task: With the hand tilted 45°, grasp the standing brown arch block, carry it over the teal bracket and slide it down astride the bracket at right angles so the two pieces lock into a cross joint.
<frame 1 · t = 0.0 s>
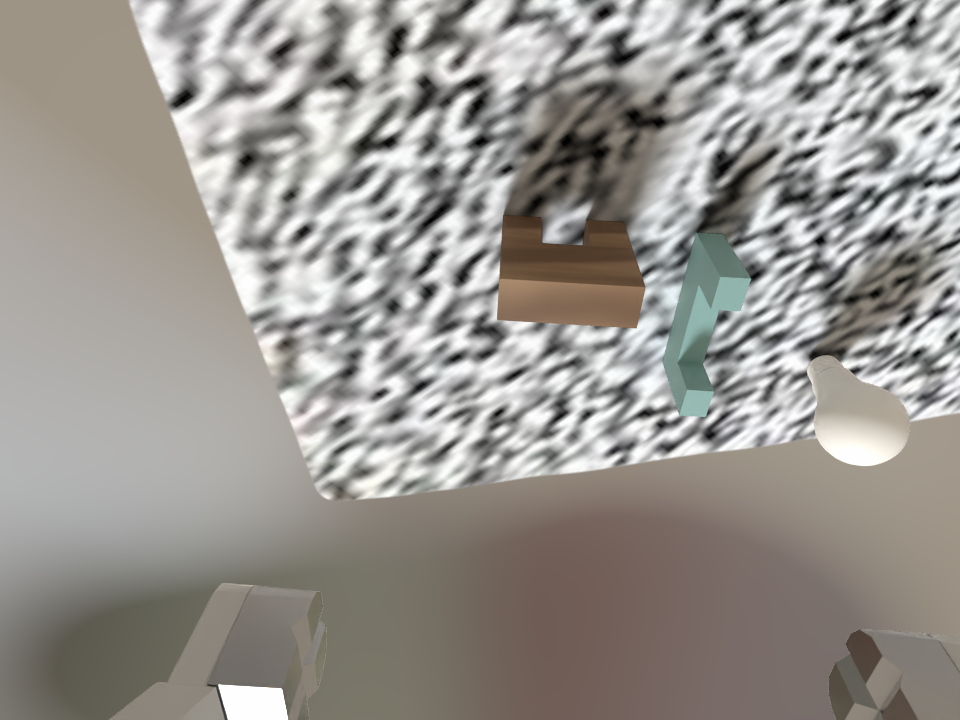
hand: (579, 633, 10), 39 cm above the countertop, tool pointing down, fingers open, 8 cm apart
lightbulb: (817, 360, 53), on the countertop
teal bracket: (690, 302, 50), on the countertop
brown arch block: (561, 237, 47), on the countertop
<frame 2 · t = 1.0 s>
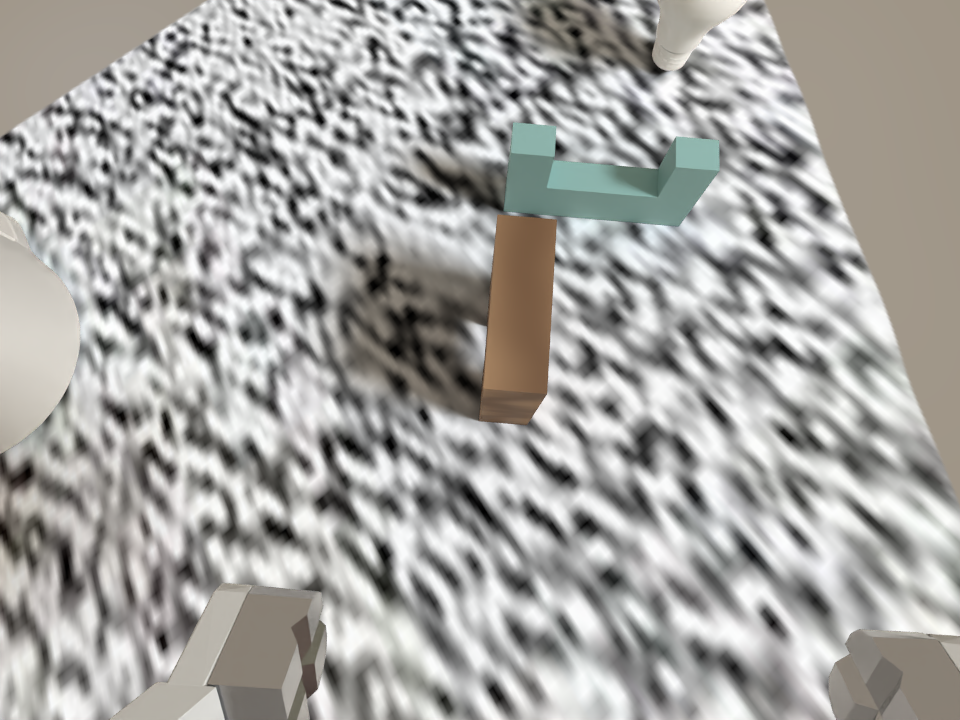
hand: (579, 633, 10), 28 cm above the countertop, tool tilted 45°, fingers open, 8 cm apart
lightbulb: (664, 65, 46), on the countertop
teal bracket: (591, 205, 43), on the countertop
brown arch block: (507, 353, 40), on the countertop
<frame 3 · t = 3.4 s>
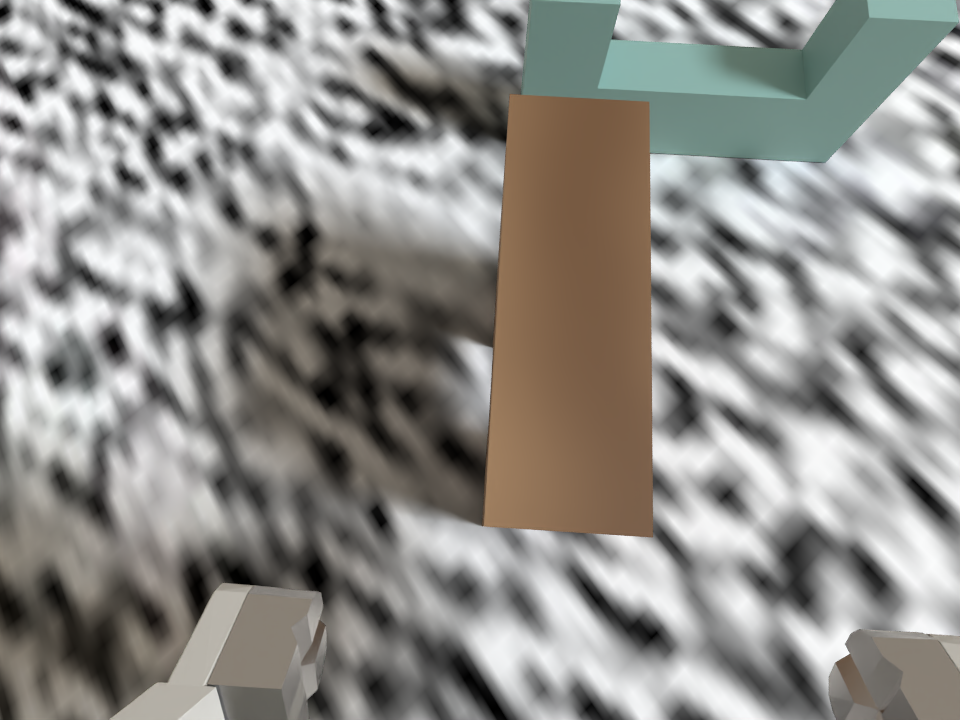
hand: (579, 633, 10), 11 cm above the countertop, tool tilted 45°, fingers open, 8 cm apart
teal bracket: (670, 131, 25), on the countertop
brown arch block: (532, 396, 22), on the countertop
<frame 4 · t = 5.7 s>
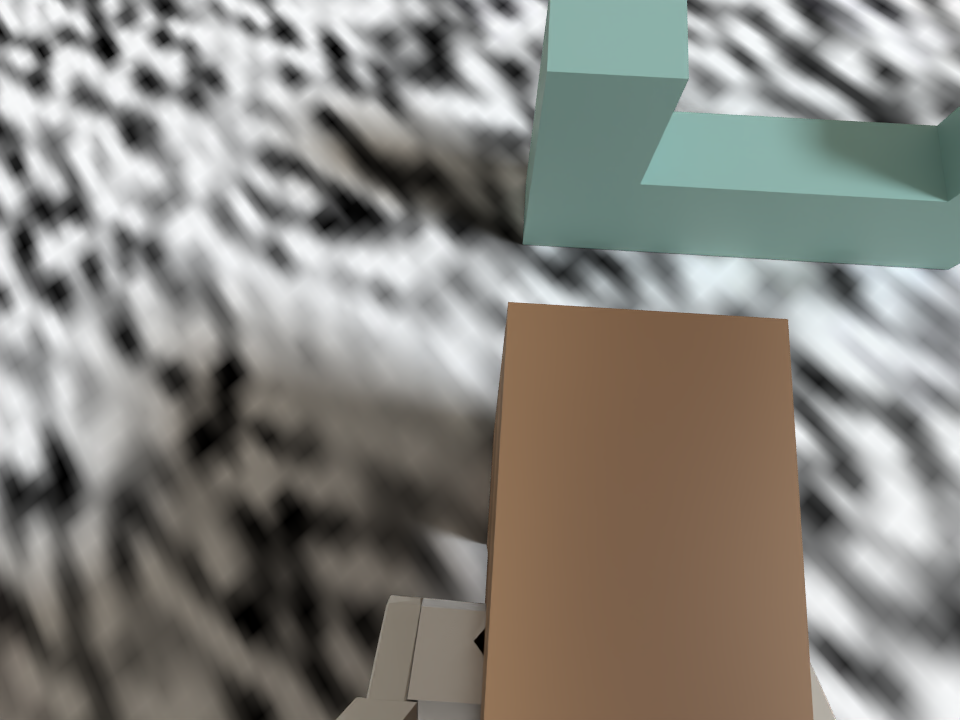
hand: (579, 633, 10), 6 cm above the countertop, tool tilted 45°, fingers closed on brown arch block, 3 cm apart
teal bracket: (732, 224, 18), on the countertop
brown arch block: (543, 621, 15), on the countertop, touching gripper
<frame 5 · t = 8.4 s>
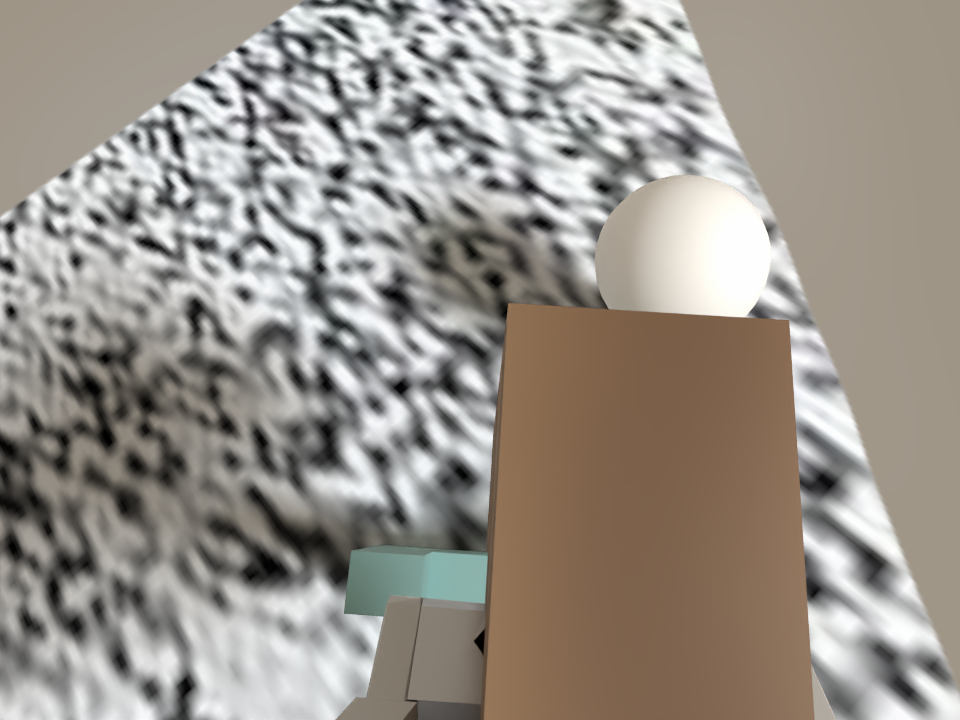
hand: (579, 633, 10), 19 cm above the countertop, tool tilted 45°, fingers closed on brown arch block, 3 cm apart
lightbulb: (628, 328, 31), on the countertop
teal bracket: (514, 577, 28), on the countertop
brown arch block: (543, 622, 15), point 13 cm above the countertop, touching gripper
when the fingers open (8 cm above the countertop, at t = 11.0 s): brown arch block drops 2 cm, on the countertop.
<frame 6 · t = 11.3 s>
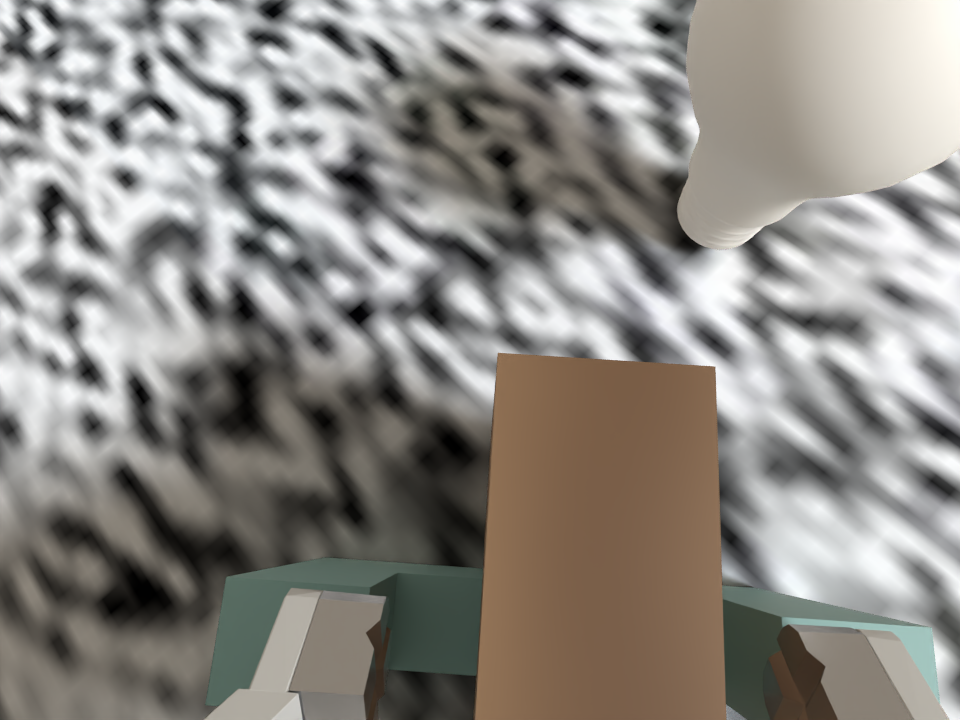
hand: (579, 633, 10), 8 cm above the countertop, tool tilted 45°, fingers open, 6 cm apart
lightbulb: (706, 227, 20), on the countertop
teal bracket: (537, 610, 17), on the countertop
brown arch block: (534, 611, 17), on the countertop
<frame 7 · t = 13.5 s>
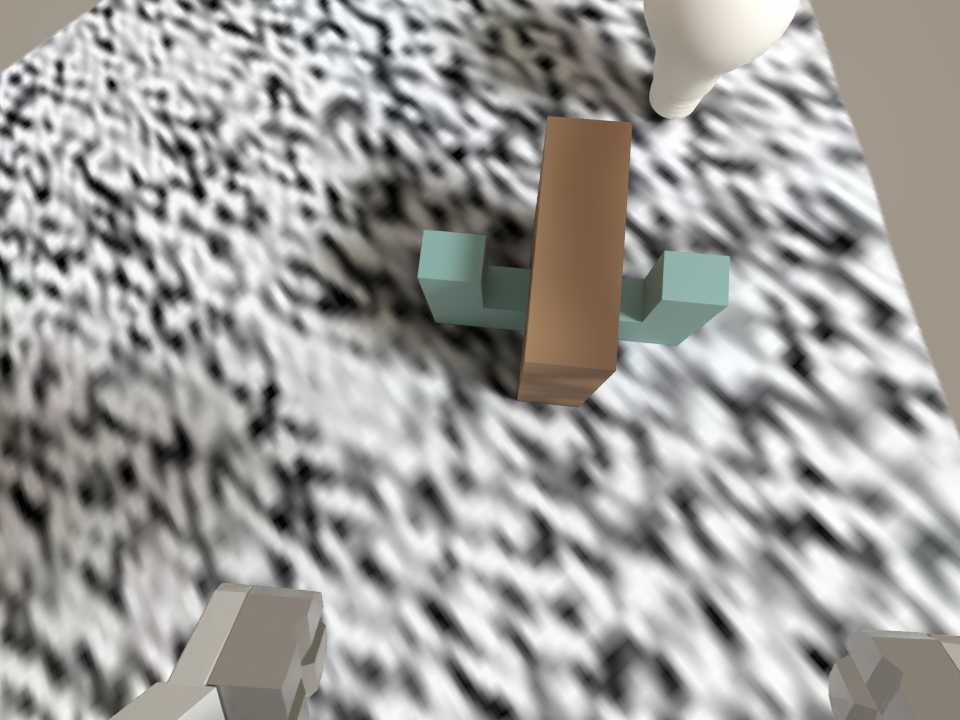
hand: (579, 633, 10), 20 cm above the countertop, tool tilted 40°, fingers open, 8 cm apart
lightbulb: (668, 108, 33), on the countertop
teal bracket: (556, 314, 31), on the countertop
brown arch block: (555, 315, 31), on the countertop
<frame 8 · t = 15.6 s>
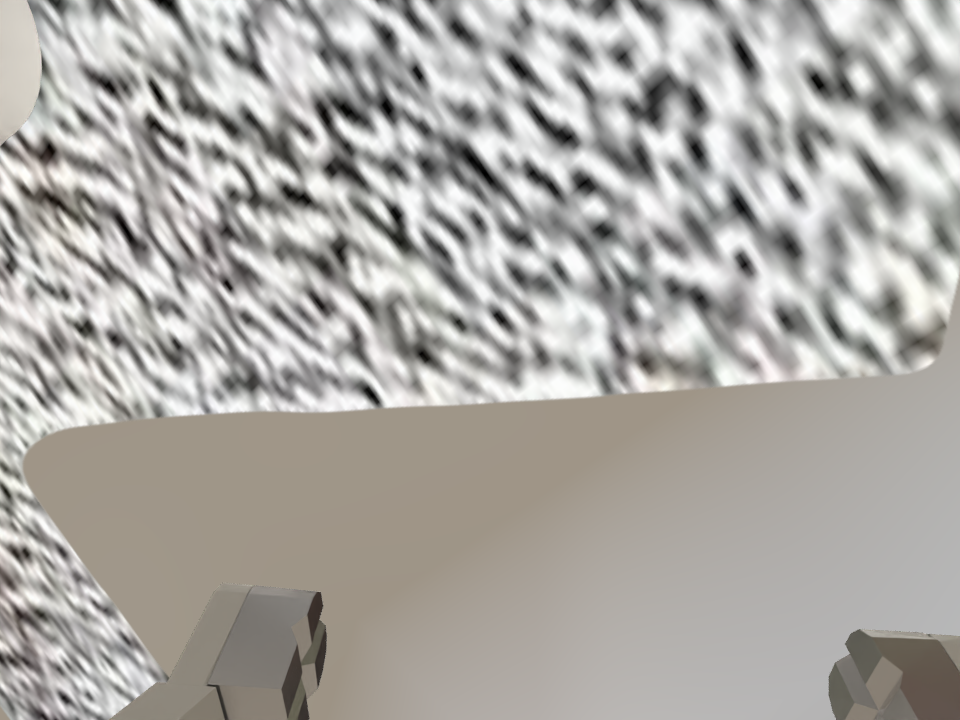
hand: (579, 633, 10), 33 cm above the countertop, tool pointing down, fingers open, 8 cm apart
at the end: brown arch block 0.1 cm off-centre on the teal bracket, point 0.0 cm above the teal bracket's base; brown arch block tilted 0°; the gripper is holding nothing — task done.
